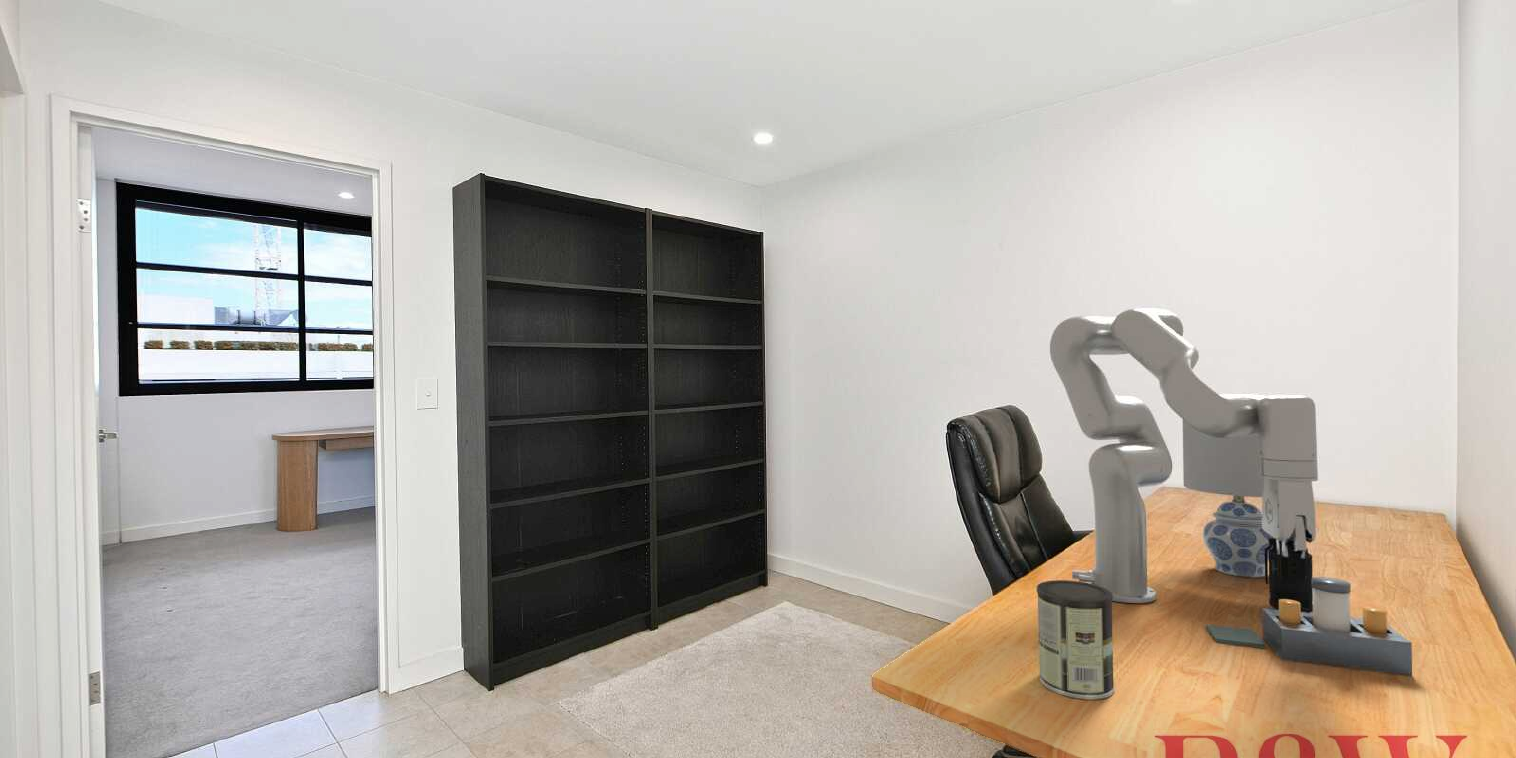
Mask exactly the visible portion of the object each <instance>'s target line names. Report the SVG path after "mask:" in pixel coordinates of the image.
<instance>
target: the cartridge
mask: <svg viewBox="0 0 1516 758" xmlns="http://www.w3.org/2000/svg"><path fill="white" fill-rule="evenodd" d="M1312 587H1313V602H1312V603H1313V612H1312V613H1313V626H1314V627H1315V628H1318V629H1327V630H1337V631H1346V632H1350V617H1351V595H1350V594H1351V583H1350V582H1348V581H1345V580H1342V579H1339V578H1334V577H1326V576H1314V577H1313V578H1312Z"/></svg>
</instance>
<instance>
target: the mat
mask: <svg viewBox="0 0 1516 758" xmlns="http://www.w3.org/2000/svg"><path fill="white" fill-rule="evenodd" d="M1205 627H1206V630H1207V631H1208V633H1209V634H1210V636H1211V637H1212V639H1213V640H1214V642H1215V643H1221V644H1229V645H1236V646H1237V645H1239V646H1245V647H1254V648H1261V649H1262V648H1263V649H1266V643H1265V641H1263V639H1261V637H1260V636H1259V635H1258V634H1257V632H1256V631H1255V630H1254V629H1253V628H1252V629H1249V628H1241V627H1234V626H1233V627H1232V626H1222V625H1216V624H1214V625H1213V624H1206V626H1205Z"/></svg>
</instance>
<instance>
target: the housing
mask: <svg viewBox="0 0 1516 758" xmlns="http://www.w3.org/2000/svg"><path fill="white" fill-rule="evenodd" d="M1261 611H1262V612H1261V622H1262V624H1261V625H1262V639H1264V641H1265V642H1266V643H1267V644H1268V645H1269V646H1270V648H1271V649H1272V650H1273V651H1274V652H1275V654H1277V656H1278V657H1279V658H1280V659H1281V660H1282V661H1290V662H1300V663H1307V664H1314V665H1322V666H1331V667H1341V668H1348V669H1356V670H1362V671H1363V670H1364V671H1371V672H1381V673H1388V674H1395V675H1397V674H1398V675H1404V676H1411V677H1412V676H1413V651H1412V650H1413V648H1412V647H1413V645H1412V641H1410V640H1409V639H1407V638H1406V637H1404V636H1403V635H1402V634H1400V633H1399V632H1397V631H1396V630H1395V629H1393V628H1392V627H1390V626H1389V625H1388V624H1387V633H1379V632H1370V631H1365V630H1364V629H1363V617H1354V616H1350V632H1346V631H1337V630H1327V629H1318V628H1315V627H1314V626H1313V612H1311V613H1304V612H1301V624H1294V623H1285V622H1280V621H1279V610H1276V609H1275V608H1273V609H1272V608H1263V607H1262V609H1261Z"/></svg>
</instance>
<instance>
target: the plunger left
mask: <svg viewBox="0 0 1516 758" xmlns="http://www.w3.org/2000/svg"><path fill="white" fill-rule="evenodd" d="M1279 621H1280V622H1285V623H1294V624H1301V608H1300V602H1297V601H1294V600H1289V599H1280V600H1279Z"/></svg>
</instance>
